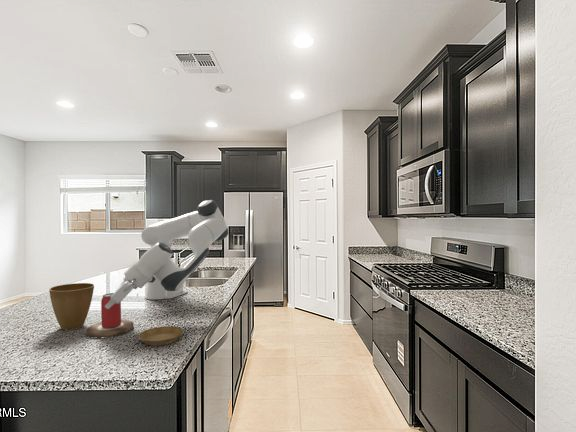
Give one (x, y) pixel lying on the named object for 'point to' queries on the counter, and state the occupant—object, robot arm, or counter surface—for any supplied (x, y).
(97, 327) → the disc
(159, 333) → the plant saucer
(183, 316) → the counter surface
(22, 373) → the counter surface
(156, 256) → the robot arm
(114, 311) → the beer can
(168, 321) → the counter surface
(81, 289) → the plant pot
